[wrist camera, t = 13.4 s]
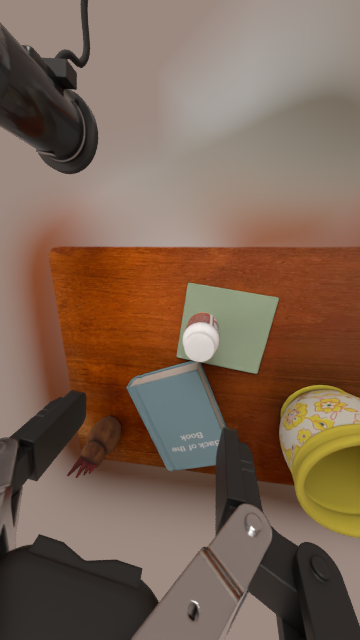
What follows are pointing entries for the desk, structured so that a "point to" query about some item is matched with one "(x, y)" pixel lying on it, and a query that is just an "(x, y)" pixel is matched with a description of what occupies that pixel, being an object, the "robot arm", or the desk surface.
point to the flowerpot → (324, 454)
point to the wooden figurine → (98, 444)
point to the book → (179, 414)
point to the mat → (232, 324)
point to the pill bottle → (201, 337)
